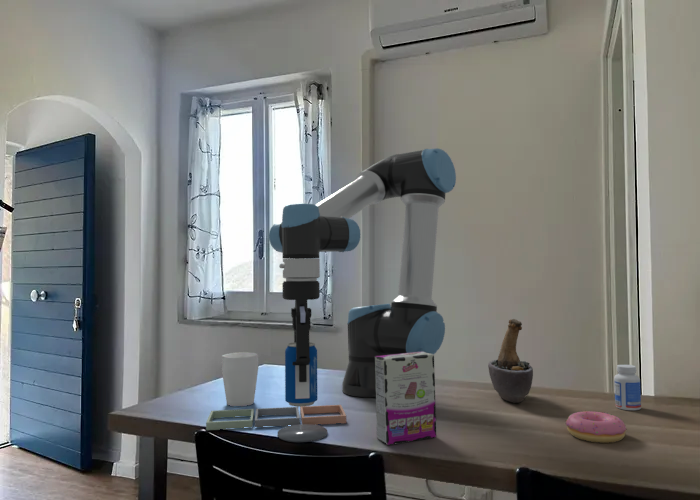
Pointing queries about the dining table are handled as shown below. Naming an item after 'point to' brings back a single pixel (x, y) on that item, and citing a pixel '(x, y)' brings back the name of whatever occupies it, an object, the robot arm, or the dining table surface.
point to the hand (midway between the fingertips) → (301, 393)
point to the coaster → (302, 433)
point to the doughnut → (596, 426)
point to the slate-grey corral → (279, 420)
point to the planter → (511, 368)
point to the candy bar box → (405, 397)
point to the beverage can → (290, 376)
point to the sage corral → (229, 424)
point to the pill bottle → (627, 388)
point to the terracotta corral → (322, 419)
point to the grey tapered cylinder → (240, 377)
